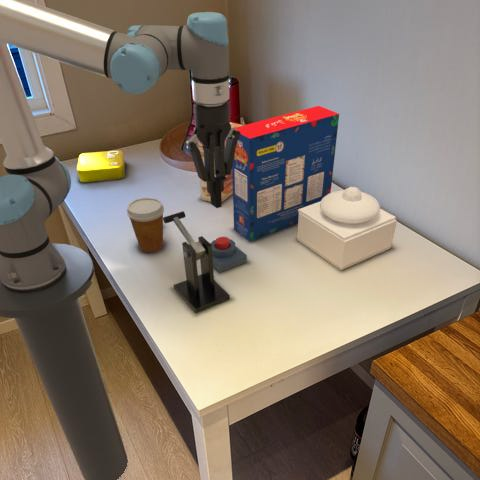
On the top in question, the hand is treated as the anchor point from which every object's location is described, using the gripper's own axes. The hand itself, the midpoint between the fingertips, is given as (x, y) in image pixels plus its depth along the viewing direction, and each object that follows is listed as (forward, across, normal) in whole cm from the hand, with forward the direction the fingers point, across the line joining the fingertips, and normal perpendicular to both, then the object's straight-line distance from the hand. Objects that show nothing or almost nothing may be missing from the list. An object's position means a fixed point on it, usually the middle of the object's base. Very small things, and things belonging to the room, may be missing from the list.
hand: (216, 205), depth 116 cm
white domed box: (+15, +31, -13) cm, 37 cm away
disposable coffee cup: (+15, -12, +15) cm, 25 cm away
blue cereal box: (+15, +25, +6) cm, 30 cm away
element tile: (+16, -6, +68) cm, 70 cm away
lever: (+3, -11, -6) cm, 13 cm away
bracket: (+15, -11, -11) cm, 22 cm away
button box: (+15, +1, -1) cm, 15 cm away
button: (+11, +1, -1) cm, 11 cm away
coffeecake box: (+15, +20, +31) cm, 40 cm away
